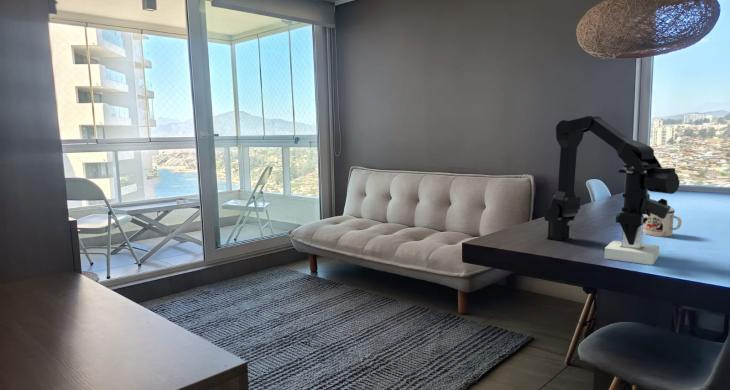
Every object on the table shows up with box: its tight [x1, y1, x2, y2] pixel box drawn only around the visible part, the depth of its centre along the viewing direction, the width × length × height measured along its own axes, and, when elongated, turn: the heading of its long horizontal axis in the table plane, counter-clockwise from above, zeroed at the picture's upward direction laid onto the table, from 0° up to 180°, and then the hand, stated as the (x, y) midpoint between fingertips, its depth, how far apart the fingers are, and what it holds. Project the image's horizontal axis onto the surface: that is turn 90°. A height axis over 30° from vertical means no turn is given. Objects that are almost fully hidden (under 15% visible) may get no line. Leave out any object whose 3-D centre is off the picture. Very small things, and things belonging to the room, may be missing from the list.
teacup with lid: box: [643, 207, 683, 238], centre depth 163 cm, size 12×9×12 cm
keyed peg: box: [621, 224, 644, 250], centre depth 136 cm, size 3×5×8 cm
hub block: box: [603, 239, 660, 266], centre depth 136 cm, size 12×12×3 cm
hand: (632, 243), depth 136 cm, fingers closed on keyed peg, 3 cm apart
